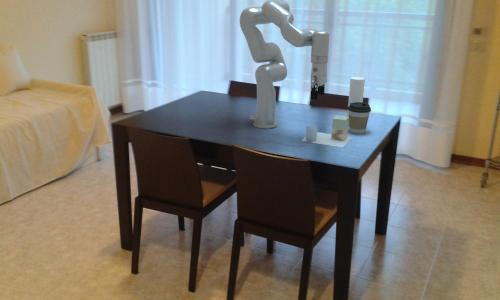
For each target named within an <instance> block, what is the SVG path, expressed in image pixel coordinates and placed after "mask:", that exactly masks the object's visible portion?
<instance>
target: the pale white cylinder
mask: <svg viewBox="0 0 500 300" xmlns="http://www.w3.org/2000/svg"><path fill="white" fill-rule="evenodd" d="M305 129H306V130H305V137H306V141H308V142H307V143H311V142H315V141H316V139H317V132H318V127H317V126H312V125H309V126H306V127H305Z"/></svg>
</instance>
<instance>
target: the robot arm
mask: <svg viewBox="0 0 500 300" xmlns="http://www.w3.org/2000/svg"><path fill="white" fill-rule="evenodd" d="M290 11H291V8H290V4H289V3H288V2H287V1H286V0H267V1H265V2H264V3H263V4H262V6H251V7H247V8H244V9H242V11H241V13H240V15H239V26H240V30H241V33H242V34H243V36H244V38H245V40H246V43H247V46H248V49H249V52H250V55H251V57H252V61H254V62H255V63H256V64H261V63H262V64H261V65H259V66H258V67H257V68H256V69H255V74H254V76H255V82H256V115H252V114H250V115H249V119H250V121H253V123H252V125H253V127H255V128H257V129H265V130H267V129H274V128H276V127H278V126H279V125H278V124H279V123H278V121H276V94H277V93H276V88H275V86H274V84H273V83H277V82H282V81H284V80H285V79H286V78H287V76H288V68H287V64H286V62H285V59H284V55H283V53H282V49H281V48H280V46H279V45H278V44H277V43H275V42H266V41H265V38H264V36H263V33H262V32H261V30H260V29H259V28H258V27H257V26H256V25H268V24H274V25H275V26H276V27H278V28H279V29H280V34H281V36H282V38H283V39H284V40H285V41H286V42H287V43H288V44H290V45H291V46H293V47H296V48H303V47H311V48H310V49H311V51H310V64H311V71H310V100H315V101H316V100H318V99H319V96H324V95H325V89H326V87H325V86H326V84H327V82H328V63H329V47H330V46H329V45H330V32H329V31H326V30H318V29H315V28H304V29H297V28H296V27H295V26H293V23H294V19H295V17H294V15H293V13H292V12H290ZM263 63H266V64H263Z"/></svg>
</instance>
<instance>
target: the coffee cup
mask: <svg viewBox="0 0 500 300" xmlns="http://www.w3.org/2000/svg"><path fill="white" fill-rule="evenodd" d="M348 110H349V127H348V130H349V131H348V132H350V133H353V134H364V133H366V129H367V126H368V121H369V118H370V113H371V112H372V108H371V106H370V104H368V103H366V102H363V103H362V102H354V103H351V104H350V106H348V105H347V111H348Z"/></svg>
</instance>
